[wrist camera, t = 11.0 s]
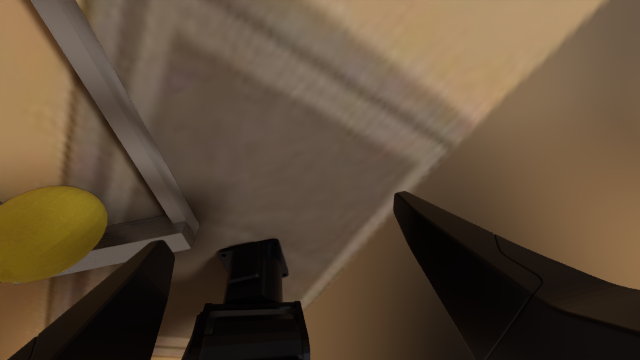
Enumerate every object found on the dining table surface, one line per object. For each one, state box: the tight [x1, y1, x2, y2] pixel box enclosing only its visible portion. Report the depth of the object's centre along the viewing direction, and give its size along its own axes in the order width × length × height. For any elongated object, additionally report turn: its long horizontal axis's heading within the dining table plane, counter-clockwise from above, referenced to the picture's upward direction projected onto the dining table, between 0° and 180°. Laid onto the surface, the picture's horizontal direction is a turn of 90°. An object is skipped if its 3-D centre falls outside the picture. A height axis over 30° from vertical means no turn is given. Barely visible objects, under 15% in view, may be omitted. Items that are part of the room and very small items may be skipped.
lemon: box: [0, 186, 108, 283], centre depth 16 cm, size 6×6×8 cm
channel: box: [0, 0, 200, 285], centre depth 15 cm, size 23×14×3 cm, turn 6°
